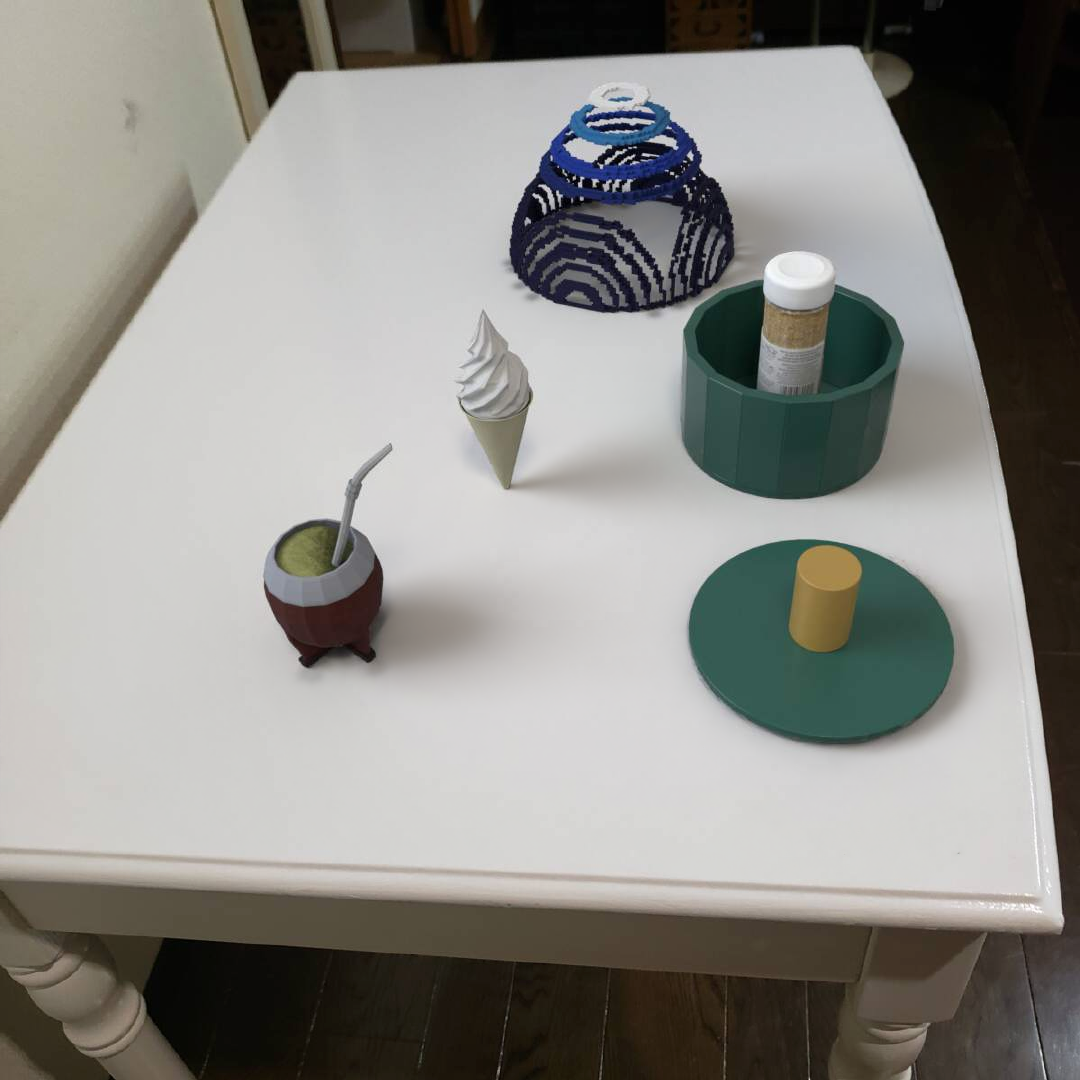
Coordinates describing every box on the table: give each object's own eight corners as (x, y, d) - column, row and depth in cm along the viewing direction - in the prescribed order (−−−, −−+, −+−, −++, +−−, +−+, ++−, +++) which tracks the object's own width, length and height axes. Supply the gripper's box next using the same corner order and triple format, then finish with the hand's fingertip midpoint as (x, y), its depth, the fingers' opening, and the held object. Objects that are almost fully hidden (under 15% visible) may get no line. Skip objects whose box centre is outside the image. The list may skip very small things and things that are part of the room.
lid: (967, 584, 71) (990, 507, 66) (927, 783, 61) (951, 709, 56) (727, 529, 76) (733, 454, 71) (654, 705, 66) (655, 630, 61)
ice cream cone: (461, 476, 81) (433, 299, 71) (526, 456, 82) (508, 278, 72) (484, 519, 78) (459, 340, 67) (551, 497, 79) (537, 318, 68)
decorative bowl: (566, 183, 112) (558, 35, 102) (760, 214, 105) (772, 60, 95) (474, 286, 99) (455, 129, 89) (687, 329, 92) (692, 165, 82)
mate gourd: (263, 642, 71) (196, 465, 61) (355, 572, 75) (308, 393, 64) (339, 702, 67) (282, 523, 57) (432, 624, 71) (395, 444, 61)
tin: (899, 392, 85) (919, 296, 79) (861, 518, 76) (880, 420, 70) (713, 358, 89) (718, 265, 83) (655, 473, 80) (656, 377, 74)
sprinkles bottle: (815, 410, 83) (837, 249, 74) (814, 449, 80) (837, 287, 71) (753, 406, 84) (766, 246, 75) (749, 445, 81) (763, 283, 71)
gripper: (1443, -526, 39) (1254, -7, 51) (930, -494, 44) (868, -33, 56) (1476, -512, 34) (1258, 57, 46) (896, -478, 39) (837, 23, 51)
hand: (1044, 8), depth 51 cm, fingers open, 9 cm apart
